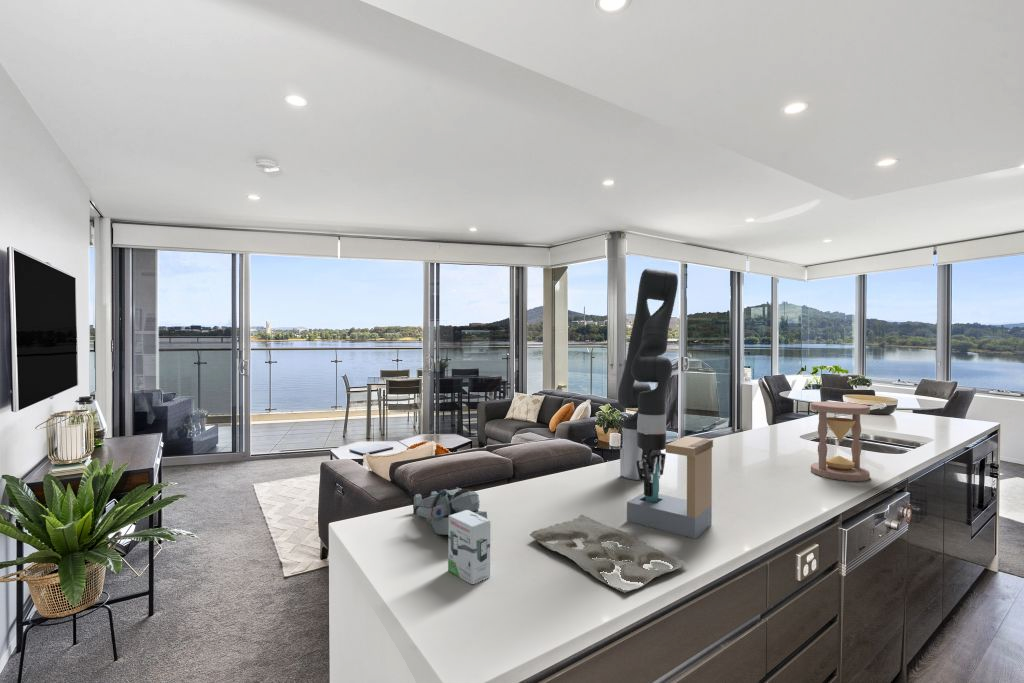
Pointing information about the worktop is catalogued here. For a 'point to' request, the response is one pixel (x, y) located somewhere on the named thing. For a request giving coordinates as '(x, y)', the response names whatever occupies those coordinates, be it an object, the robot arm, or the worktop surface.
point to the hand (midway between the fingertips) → (651, 493)
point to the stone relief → (604, 550)
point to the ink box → (469, 546)
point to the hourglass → (840, 426)
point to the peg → (654, 488)
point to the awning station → (675, 511)
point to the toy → (446, 506)
